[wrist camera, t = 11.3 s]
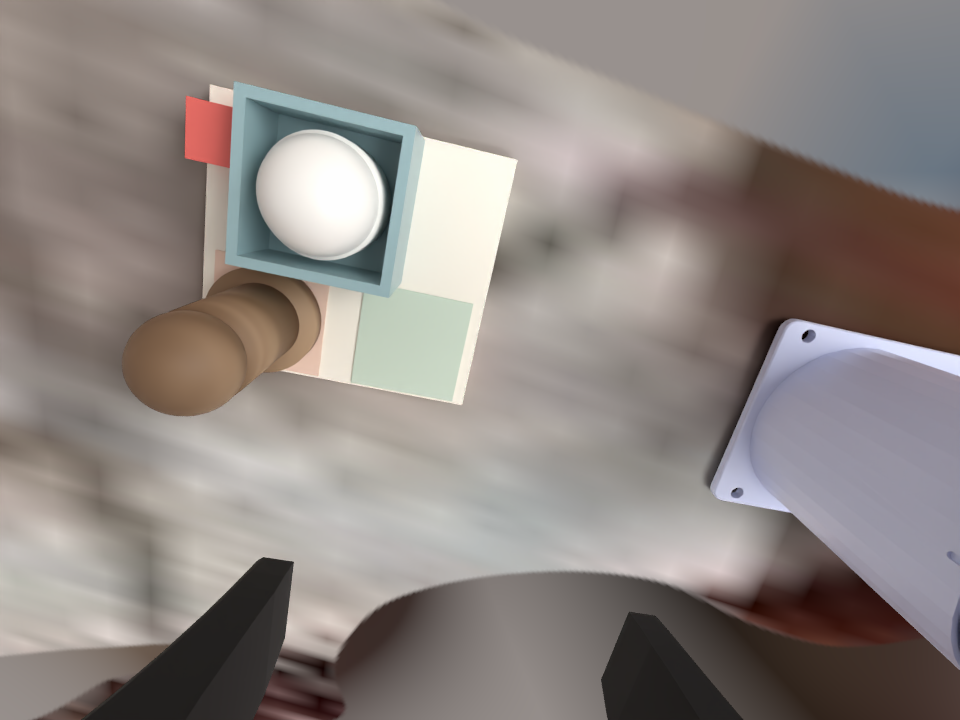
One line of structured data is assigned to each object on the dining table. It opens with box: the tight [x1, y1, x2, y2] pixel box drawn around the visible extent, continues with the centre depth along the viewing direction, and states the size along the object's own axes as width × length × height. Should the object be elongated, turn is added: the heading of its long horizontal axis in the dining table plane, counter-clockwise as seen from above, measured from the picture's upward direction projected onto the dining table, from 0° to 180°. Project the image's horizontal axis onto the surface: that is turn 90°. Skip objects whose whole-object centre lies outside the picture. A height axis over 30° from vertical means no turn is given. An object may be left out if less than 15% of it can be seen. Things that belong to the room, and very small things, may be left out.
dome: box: [256, 130, 391, 260], centre depth 13 cm, size 3×3×3 cm
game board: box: [185, 84, 517, 405], centre depth 15 cm, size 10×9×2 cm
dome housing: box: [225, 81, 425, 298], centre depth 14 cm, size 5×5×3 cm
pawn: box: [122, 268, 321, 416], centre depth 13 cm, size 4×4×6 cm
